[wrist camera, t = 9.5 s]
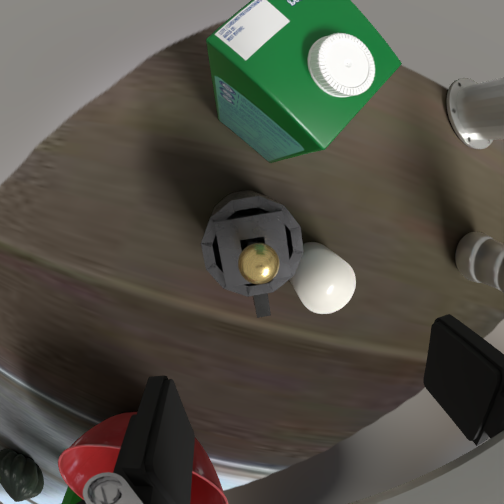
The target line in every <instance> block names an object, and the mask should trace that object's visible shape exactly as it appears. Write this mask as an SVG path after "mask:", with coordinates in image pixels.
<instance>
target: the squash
mask: <svg viewBox="0 0 504 504" xmlns="http://www.w3.org/2000/svg"><path fill="white" fill-rule="evenodd" d="M0 483H1V485H2V486H3V488H4V489H5V491H6V492H7V493H8V494H9V496H10V497H11V498H12V499H13V500H14V501H15V502H17V501H18V502H19V501H23V500H26V499H30V498H33V497H35V496H37V495H38V494H40V493H41V491H42V489H43V486H44V479H43V474H42V471H41V470H40V468H39V467H38V466H36V464H35V462H34V461H33V460H31V459H29V458H26V459H25V457H24V456H23V455H22V454H19V455H18V454H17V453H16V452H15V451H13V450H10V449H3V450H1V451H0Z"/></svg>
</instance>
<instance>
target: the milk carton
mask: <svg viewBox="0 0 504 504" xmlns="http://www.w3.org/2000/svg"><path fill="white" fill-rule="evenodd" d="M206 43H207V50H208V56H209V63H210V69H211V76H212V82H213V89H214V95H215V102H216V108H217V115H218V120H219V121H221V122H222V123H223V124H224V125H226V126H227V127H228V128H229V129H231V130H232V131H233V132H234V133H235V134H237V135H238V136H239V137H240V138H242V139H243V140H244V141H245V142H246V143H247V144H249V145H250V146H251V147H252V148H253V149H255V150H256V151H257V152H258V153H259V154H260V155H262V156H263V157H264V158H265V159H266V160H267V161H269V162H270V163H272V162H276V161H280V160H284V159H288V158H292V157H295V156H300V155H304V154H308V153H312V152H316V151H320V150H325V149H326V148H327V147H328V145H329V144H330V143H331V142H332V141H333V140H334V139H335V138H336V136H337V135H338V134H339V133H340V132H341V131H342V130H343V129H344V127H345V126H346V125H347V124H348V123H349V122H350V121H351V120H352V118H353V117H354V116H355V115H356V114H357V113H358V112H359V111H360V110H361V108H362V107H363V106H364V105H365V104H366V103H367V102H368V101H369V100H370V98H371V97H372V96H373V95H374V94H375V93H376V92H377V91H378V90H379V88H380V87H381V86H382V85H383V84H384V83H385V82H386V81H387V80H388V78H389V77H390V76H391V75H392V74H393V73H394V72H395V71H396V70H397V69H398V67H399V66H400V65H401V64H402V63H401V62H400V60H399V59H398V57H397V56H396V55H395V53H394V52H393V51H392V49H391V48H390V47H389V45H388V44H387V43H386V41H385V40H384V39H383V38H382V36H381V35H380V34H379V33H378V31H377V30H376V29H375V28H374V27H373V25H372V24H371V23H370V22H369V21H368V19H367V18H366V17H365V16H364V15H363V14H362V13H361V11H360V10H359V9H358V8H357V7H356V6H355V5H354V4H353V3H352V2H351V1H350V0H251V1H250V2H249V3H248V4H246V5H245V6H244V7H243V8H241V9H240V10H239V11H238V12H237V13H235V14H234V15H233V16H232V17H231V18H229V19H228V20H227V21H226V22H225V23H223V24H222V25H221V26H220V27H219V28H218V29H217V30H216V31H214V32H213V33H212V34H211V35H210V36H209V37H208V38H207V39H206Z"/></svg>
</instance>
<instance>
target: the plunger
mask: <svg viewBox="0 0 504 504" xmlns="http://www.w3.org/2000/svg"><path fill="white" fill-rule="evenodd" d="M260 213H264V212H263V211H261V210H260V209H258V208H250V209H244V210H238V211H235V212H234V213H233V214H232V215H230V216H229V217H228V218H227V219H230V218H236V217H242V216H248V215H254V214H260ZM240 244H241V249H242V252H241V254H240V256H239V259H238V268H239V271H240V273H241V275H242V277H243V278H244V279H245V280H247V281H248V282H250V283H253V284H265V283H267V282H269V281H271V280H272V279H273V278H274V277H275V276H276V274H277V272H278V270H279V264H280V263H279V257H278V255H277V253H276V251H275V250H274V249H273V248H272V247H270V246H269V245H267V244H264V237H257V238H251V239H246V240H240Z"/></svg>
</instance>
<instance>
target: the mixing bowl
mask: <svg viewBox="0 0 504 504" xmlns="http://www.w3.org/2000/svg"><path fill="white" fill-rule="evenodd" d="M133 414H137V412H128V413H122V414H118V415H115V416H112V417H110V418H108V419H106V420H104V421H103V422H101V423H99V424H97V425H96V426H94V427H93V428H91V429H90V430H88V431H87V432H86V433H85V434H83V435H82V436H81V437H80V438H79V439H78V440H76V441H75V442H74V443H73V444H72V445H71V446H70V448H67V449H66V450H64V451H63V452H62V453H61V455H60V456H59V460H58V467H59V471H60V473H61V476H62V477H63V479H64V481H65V482H66V483H67V485H68V486H69V487H70V488H71V489H72V490H73V491H74V492H75V493H76V494H77V495H78V496H79V497H80V498H82V499H84V497H83V488H84V486H85V484H86V483H87V481H88V480H89V479H90V478H92V477H93V476H95V475H97V474H100V473H106V472H110V473H113V471H114V467H115V464H116V461H117V458H118V454H119V451H120V448H121V445H122V442H123V439H124V435H125V432H126V429H127V426H128V423H129V420H130V418H131V416H132V415H133ZM190 504H228V500H227V498H226V497H225V495H224V493H223V489H222V486H221V484H220V481H219V478H218V476H217V473H216V471H215V469H214V467H213V465H212V463H211V461H210V459H209V457H208V455H207V453H206V452H205V450H204V449H203V447H202V446H201V444H200V443H199V442H198V440H197V439H196V438H195V445H194V458H193V471H192V485H191V500H190Z"/></svg>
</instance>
